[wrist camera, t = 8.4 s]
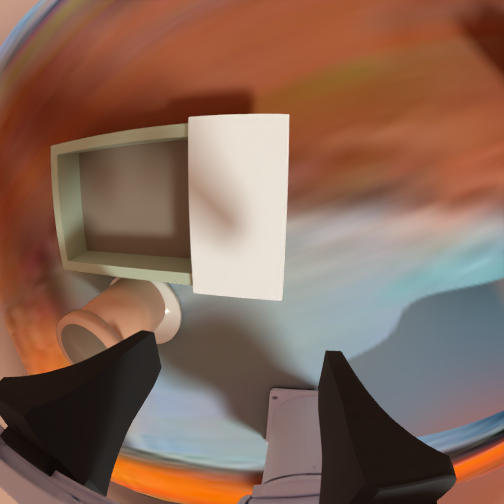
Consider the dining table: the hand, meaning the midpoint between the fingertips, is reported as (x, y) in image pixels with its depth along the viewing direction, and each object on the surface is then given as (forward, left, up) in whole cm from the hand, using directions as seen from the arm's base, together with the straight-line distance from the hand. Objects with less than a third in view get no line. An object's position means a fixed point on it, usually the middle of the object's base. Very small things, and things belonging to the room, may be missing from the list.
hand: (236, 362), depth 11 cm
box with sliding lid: (+5, +8, -10) cm, 14 cm away
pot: (-3, +10, -9) cm, 14 cm away
